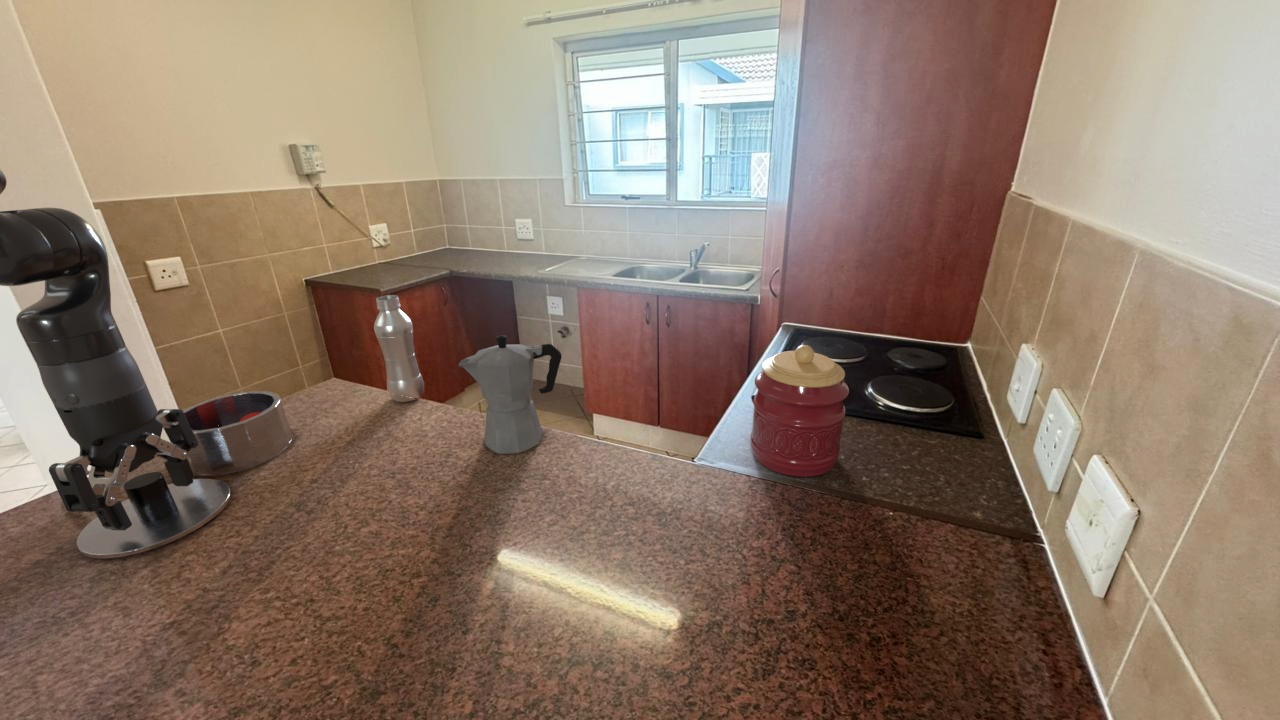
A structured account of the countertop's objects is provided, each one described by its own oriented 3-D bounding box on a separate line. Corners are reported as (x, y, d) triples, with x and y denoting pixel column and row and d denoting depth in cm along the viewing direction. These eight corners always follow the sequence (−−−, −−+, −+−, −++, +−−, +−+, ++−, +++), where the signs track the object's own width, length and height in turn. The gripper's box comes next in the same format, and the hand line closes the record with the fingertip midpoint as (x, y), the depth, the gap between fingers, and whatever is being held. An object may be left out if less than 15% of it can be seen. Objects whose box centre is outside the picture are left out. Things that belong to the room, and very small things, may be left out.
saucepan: (161, 477, 73) (141, 432, 71) (234, 430, 86) (219, 390, 83) (251, 478, 73) (234, 433, 70) (311, 430, 85) (299, 391, 83)
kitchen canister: (845, 483, 69) (865, 366, 63) (750, 474, 72) (759, 360, 65) (830, 435, 81) (845, 332, 75) (748, 429, 83) (756, 329, 77)
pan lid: (43, 561, 58) (17, 518, 56) (159, 485, 72) (142, 448, 69) (164, 563, 57) (143, 520, 55) (258, 486, 71) (244, 448, 69)
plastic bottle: (415, 388, 101) (395, 291, 93) (433, 397, 97) (414, 296, 89) (383, 399, 96) (359, 298, 88) (400, 409, 92) (377, 304, 84)
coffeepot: (475, 464, 75) (456, 352, 68) (469, 434, 83) (452, 332, 76) (574, 442, 80) (566, 337, 74) (560, 416, 89) (552, 319, 82)
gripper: (129, 366, 64) (176, 472, 70) (-7, 420, 51) (65, 545, 57) (185, 366, 64) (228, 472, 70) (62, 420, 51) (128, 546, 57)
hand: (154, 505), depth 64 cm, fingers open, 8 cm apart
